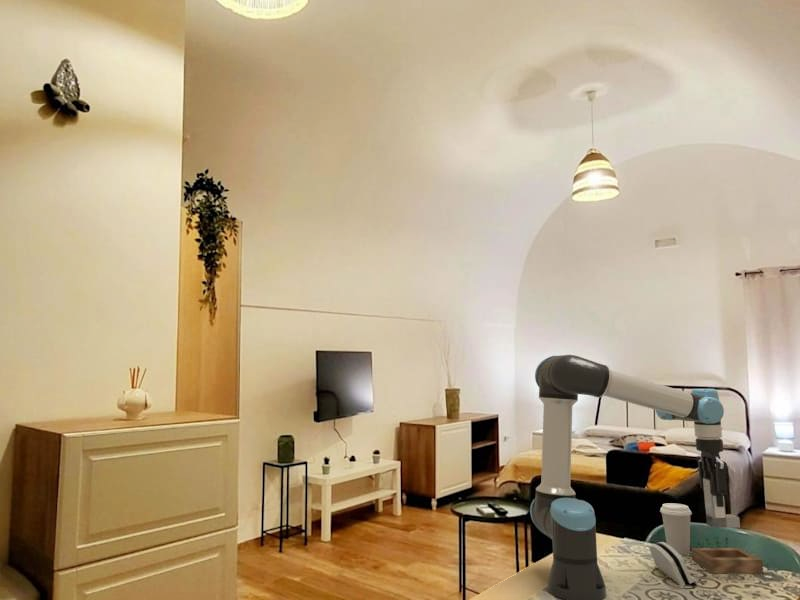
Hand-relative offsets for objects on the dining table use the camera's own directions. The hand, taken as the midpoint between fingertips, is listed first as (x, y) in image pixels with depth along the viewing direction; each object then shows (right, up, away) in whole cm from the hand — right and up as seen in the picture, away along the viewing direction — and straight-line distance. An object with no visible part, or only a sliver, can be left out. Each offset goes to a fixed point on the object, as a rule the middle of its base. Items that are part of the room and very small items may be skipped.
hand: (715, 515), depth 174 cm
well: (+2, -15, -2) cm, 15 cm away
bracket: (+2, -3, -1) cm, 4 cm away
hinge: (-18, -14, -9) cm, 25 cm away
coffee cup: (-5, -17, +12) cm, 22 cm away
